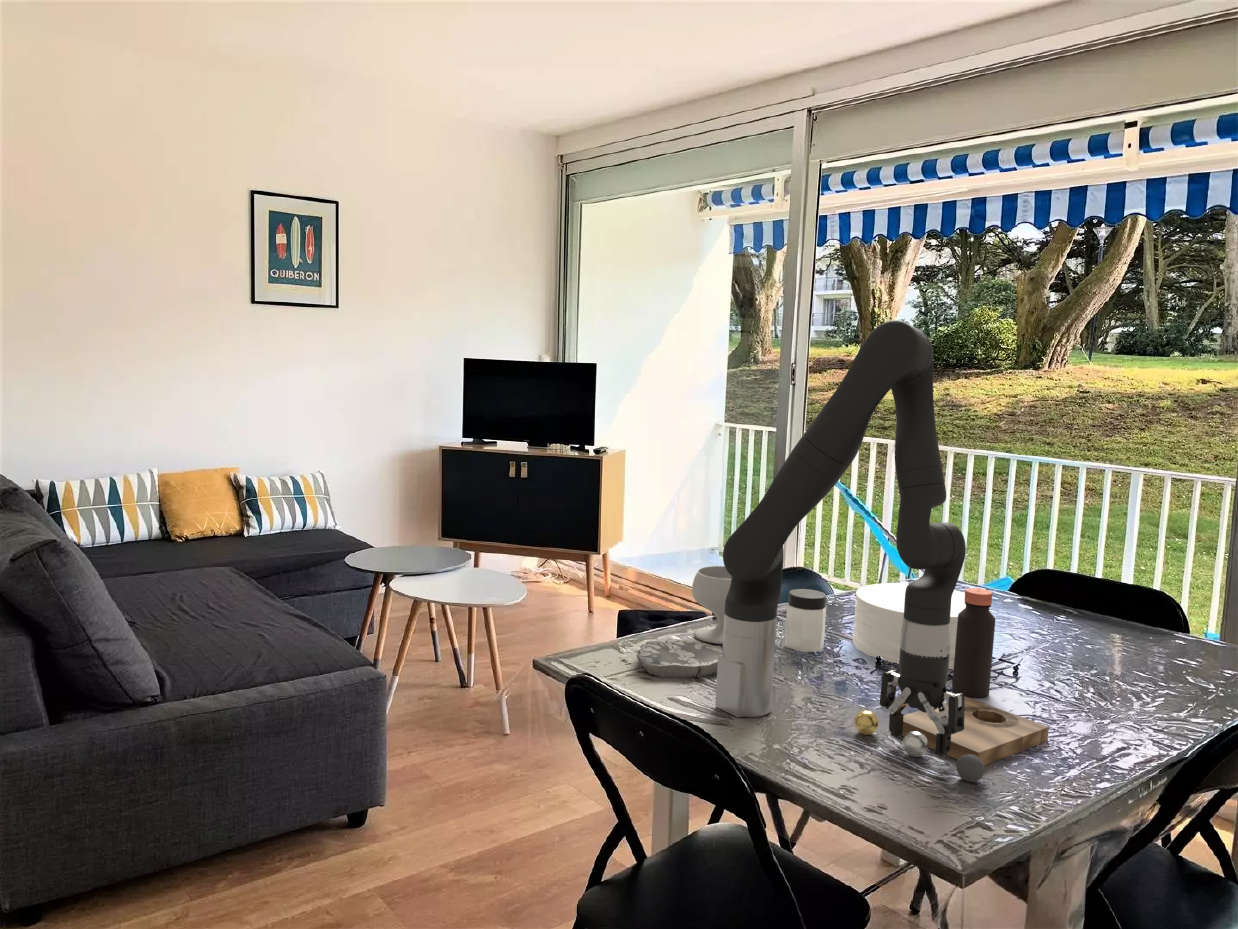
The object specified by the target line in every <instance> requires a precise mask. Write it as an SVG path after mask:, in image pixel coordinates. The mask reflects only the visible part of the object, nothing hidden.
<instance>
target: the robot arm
mask: <svg viewBox="0 0 1238 929" xmlns="http://www.w3.org/2000/svg"><path fill="white" fill-rule="evenodd" d="M890 390H891V393H892V397H893V400H894V407H895V414H896V418H895V419H896V422H895V424H896V426H895V427H896V428H895V437H894V438H895V439H894V440H895V441H894V465H895V473H896V480H897V486H898V493H899V506H898V507H899V508H898V517H897V527H896V536H895V542H896V544H895V545H896V549H897V553H898V555H899V558H900V559H901V561H902V562H903V564H905V565H906V566H907V567H908V568H910V569H912V570H924V572H923V574H922V575H921V576H920V577H919V578H918V579H916V580H913V581H911V582H910V583H907V584H908V586H907V587H906V591H905V602H904V617H903V624H902V629H901V640H900V656H899V665H898V671H897V670H896V669H891V670H888V671H885V672H883V673H882V678H881V686H880V694H879V706H880V707H882V708H884V709H885V708H886V709H887V711H888V713H889V720H888V721H889V722H888V724H889V725H888V729H889V732H890V736H891V737H894V738H898V737H900V736H902V733H903V717H904V715H905V713H903V711H904V710H905V709H906V708H907V707H909V708H911V709H917V710H918V711H922V712H924V713H926V712H927V714H928V716H929V718H930V719H931V720H932V721H933V722H934V723H935V725H936V727H937V730H938V732H937V736H936V750H935V753H934V754H935V755H936V756H939V757H943V756H945V755H946V754H947V752H949V751H950V745H951V734H955V733H957V732H960V731H963V730H964V708H965V697H966V696H964V695H963V694H962V693H959V694H957V693H955V692H954V693H953V692H949V691H948V689H947V680H948V677H949V671H950V670H949V655H950V639H951V633H950V613H951V598H952V594H953V592H954V590H955V589H956V586H957V584H958V580H959V578H960V575H961V572H962V569H963V566H964V563H965V559H966V552H967V551H966V550H967V548H966V539H965V537H964V534H963V532H962V531H961V529H960V528H959V527H958V526H957V525H955V524H953V523H951V522H945V521H943V522H942V521H941V522H930V521H931V513H932V509H934V508H936V507H937V508H938V507H940V506H942V505H943V504H944V503H945V502H946V500H947V487H946V485H945V483H946V482H945V477H944V471H943V463H942V459H941V451H940V447H939V441H938V433H937V425H936V418H935V417H936V416H935V405H934V404H935V403H934V402H935V401H934V348H933V344H932V342H931V339H930V338H929V337H928V336H927V335H926V333H925V332H923V331H922V330H920V329H919V328H916V327H915V326H913V325H911V324H910V323H908V322H906V321H902V320H899V319H897V320H896V319H893V320H892V319H891V320H887V321H885V322H883V323H881V324H879V325H877V327H875V328H874V329H873V330H872V331H871V332H870V333H869V334H868V336H867V337H866V339H865V340H864V342H863V344H862V345H861V347H860V349H859V350H858V352H857V354H856V356H855V358H854V359H853V361H852V363H851V365H850V366H849V368H848V370H847V372H846V373H845V375H844V377H843V379H842V380H841V382H840V384H839V385H838V387H837V389H835V391H834V392H833V394H832V395H831V396H830V397H829V399H828V400H827V402H826V403H825V404H824V405H823V407H822V408H821V410H820V411H819V413H818V414H817V415H816V417H815V418H814V420H813V421H812V423H811V424H810V425H809V426H808V428H807V429H806V431H804V433H803V435H802V436H801V437H800V439H799V440H797V441H798V442H796V444H795V445H794V447H793V448H792V450H791V451H790V453H789V455H788V457H787V458H786V460H785V461H784V462H783V464H782V465H781V467H780V469H779V470H778V472H777V474H776V475H775V477H774V478H773V480H772V482H771V483H770V485H769V487H768V488H767V491H766V492H765V494H764V495H763V497H762V499H761V500H760V502H759V503H758V504H757V505H756V507H755V508H754V509H753V511H752V512H751V513H750V514H749V515H748V516H747V517H746V518H745V519H744V521H743V522H742V523H741V524H740V525H739V526H738V527H737V529H736V530H735V531H733V533H732V534H731V535H730V536H729V537H728V538H727V540H726V542H725V543H724V546H723V552H722V561H723V565H724V567H725V568H726V570H727V572H728V573H729V574H730V575H731V576H732V578H731V585H730V588H729V591H728V594H727V597H726V600H725V613H724V631H723V644H722V648H723V650H722V655H719V656H718V665H717V673H716V687H715V688H716V689H715V704H714V705H715V707H716V708H718V709H720V710H722V711H724V712H726V713H728V714H730V715H732V716H734V717H736V718H742V717H744V718H745V717H748V718H749V717H751V718H752V717H753V718H755V717H762V716H765V715H768V714H769V713H771V712H772V704H773V703H772V701H773V700H772V699H773V683H774V667H775V665H774V664H775V650H776V649H775V648H776V633H777V632H776V631H777V617H778V606H779V604H780V603H779V602H780V599H781V592H782V586H783V585H782V582H783V574H784V573H783V572H784V571H783V570H784V558H785V553H784V552H785V551H784V545H785V544H786V541H787V540H788V538H789V537H790V536H791V534H792V533H793V531H794V530H795V528H797V526H798V524H799V523H800V522H801V521H802V520H803V519H804V518H805V517H806V516H807V515H808V514H809V513H810V512H812V510H813V509H814V508H815V507H817V506H818V504H820V503H821V501H823V499H824V498H825V497H826V496H827V495H828V494H829V492H831V490H832V489H833V488H834V487H835V486H836V484H837V483H838V482H839V481H840V479H841V478H842V476H843V475H844V474H845V472H846V471H847V469H848V468H849V467H850V466H851V464H852V463H853V461H854V460H855V458H856V457H857V454H858V453H859V451H860V448H861V445H862V443H863V441H864V437H865V435H866V432H867V429H868V426H869V423H870V420H871V418H872V415H873V414H874V412H875V410H876V409H877V407H878V406H879V404H880V403H881V401H882V400H883V399H884V397H885V396H886V395H887V394H888V393H889V391H890ZM897 686H898V688H899V689H900V692H901V693H900V694H899V695H898V696H897V697H896V695H897ZM944 701H946V702H947V703H946V702H944ZM945 703H946V705H945ZM946 706H948V709H947V707H946ZM937 708H938V709H939V713H937V712H936V711H935V710H936V709H937Z"/></svg>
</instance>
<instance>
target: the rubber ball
mask: <svg viewBox="0 0 1238 929" xmlns="http://www.w3.org/2000/svg"><path fill="white" fill-rule="evenodd" d="M956 772H957V774H958V776H959V777H960V779H963V781H966V782H968V783H975V782H978V781H980V780H981V779H982V778H983V776H984V774H985V765H984V764H983V762H982V761H981V760H980V759H979V758H978V757H977V756H975V755H972V754H966V755H963V756H962V757H960V758H959V760H958V759H957V761H956Z"/></svg>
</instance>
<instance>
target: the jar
mask: <svg viewBox="0 0 1238 929" xmlns="http://www.w3.org/2000/svg"><path fill="white" fill-rule="evenodd" d="M787 599H788V600H787V605H786V616H785V617H786V619H785V632H784V633H785V635H784V647H785V646H786V647H785V648H787V647H789V648H788V649H790V648H791V650H793V651H796V650H798V651H797V652H799V651H800V653H820V652H821V651H822V649H823V648H824V645H825V644H824V643H825V630H826V614H827V595H826V593H824V592H822V591H819V590H815V589H809V588H808V589H807V588H796V589H791V590H789V592H788V597H787ZM814 651H816V652H814ZM818 651H819V652H818Z"/></svg>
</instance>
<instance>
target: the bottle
mask: <svg viewBox="0 0 1238 929" xmlns="http://www.w3.org/2000/svg"><path fill="white" fill-rule="evenodd" d="M964 593H965V599H964V601H965V604H966V608H965V609H963V610H962V611H961V612H960V613H959V614H958V621H957V633H956V645H955V657H954V669H953V670H952V671H953V672H952V681H951V682H952V683H951V684H952V686H951V689H952V690H953V692H954V693H955V694H959V693H962V694H963V695H964V697H969V698H971V699H981V698H982V699H983V698H986V697H988V696H989V695H990V689H991V688H990V686H991V678H992V677H991V675H992V664H993V653H994V652H993V650H994V643H995V642H994V641H995V631H996V629H995V628H996V617H995V616H994V615H993V613H992V612H991V611H990V609H989V607H990V608H991V607H992V604H993V603H992V602H993V592H992V591H991V590H987V589H984V588H975V587H970V588H965V591H964Z"/></svg>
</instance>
